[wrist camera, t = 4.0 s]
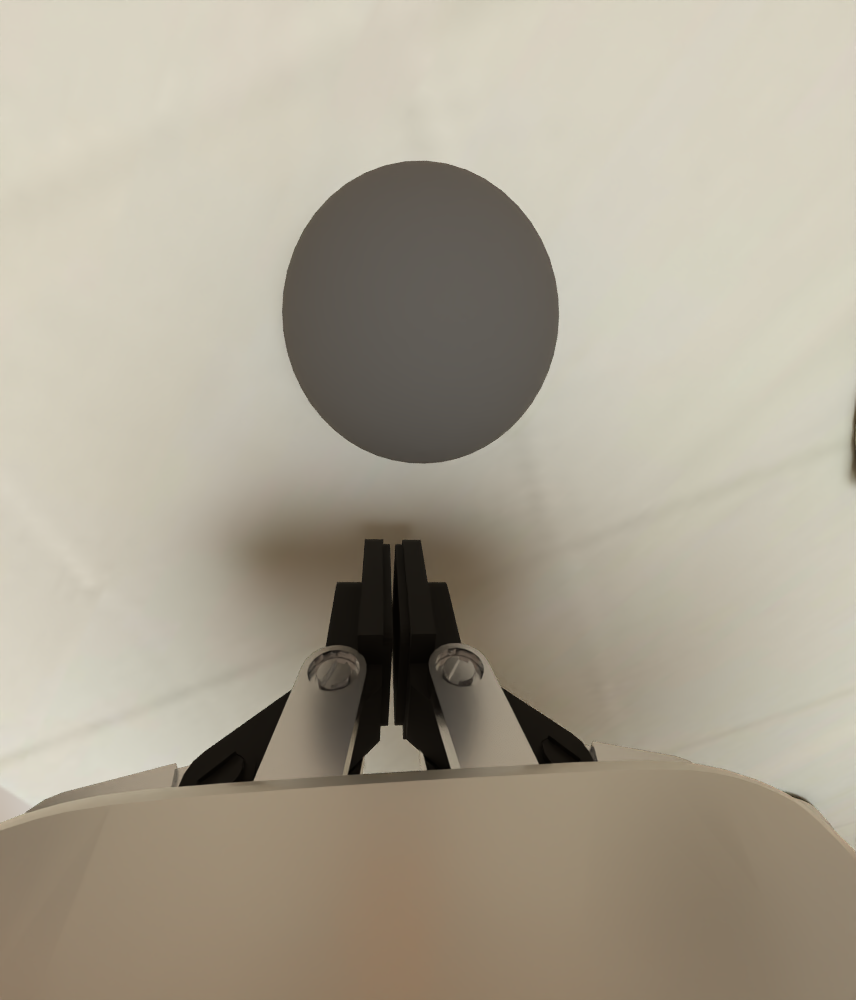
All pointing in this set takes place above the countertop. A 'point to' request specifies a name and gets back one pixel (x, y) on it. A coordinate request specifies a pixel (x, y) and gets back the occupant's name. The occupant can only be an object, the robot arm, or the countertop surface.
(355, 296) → the dark gray ball
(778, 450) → the countertop surface
